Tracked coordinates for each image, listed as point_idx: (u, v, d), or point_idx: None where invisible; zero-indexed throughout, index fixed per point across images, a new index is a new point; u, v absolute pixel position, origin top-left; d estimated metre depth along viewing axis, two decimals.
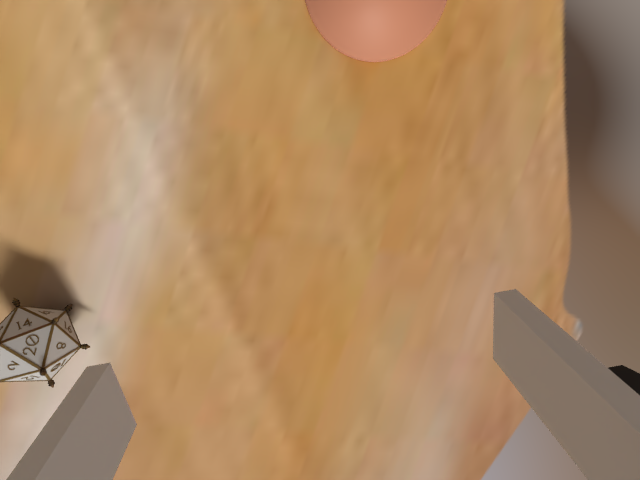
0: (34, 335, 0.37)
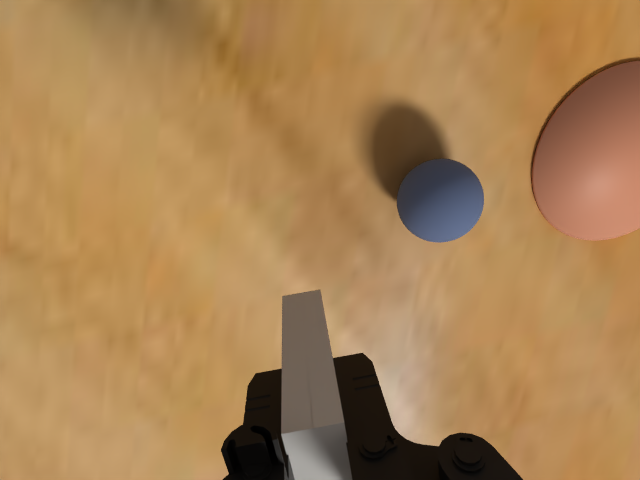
0: None
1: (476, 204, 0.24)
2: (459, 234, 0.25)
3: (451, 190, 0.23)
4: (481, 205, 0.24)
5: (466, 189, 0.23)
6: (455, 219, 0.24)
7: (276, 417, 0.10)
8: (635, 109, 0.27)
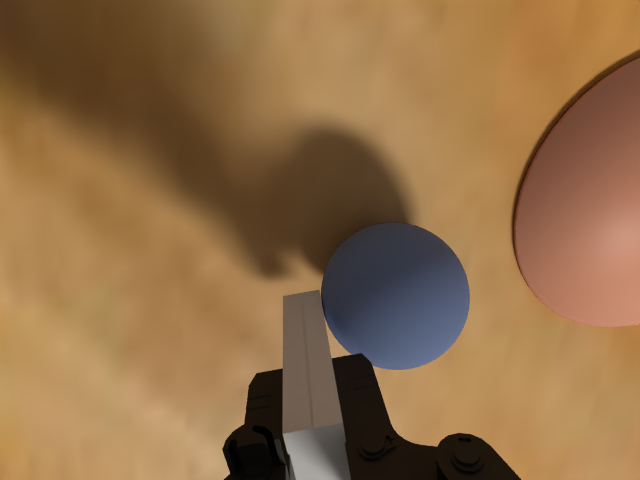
0: None
1: (467, 300, 0.13)
2: (444, 351, 0.14)
3: (434, 289, 0.12)
4: (469, 295, 0.14)
5: (453, 280, 0.13)
6: (445, 337, 0.13)
7: (277, 417, 0.10)
8: None
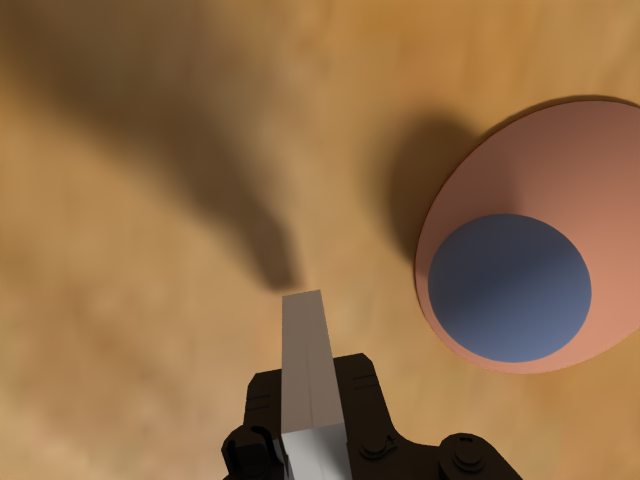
0: None
1: None
2: None
3: None
4: None
5: None
6: None
7: (275, 418, 0.10)
8: (581, 180, 0.16)
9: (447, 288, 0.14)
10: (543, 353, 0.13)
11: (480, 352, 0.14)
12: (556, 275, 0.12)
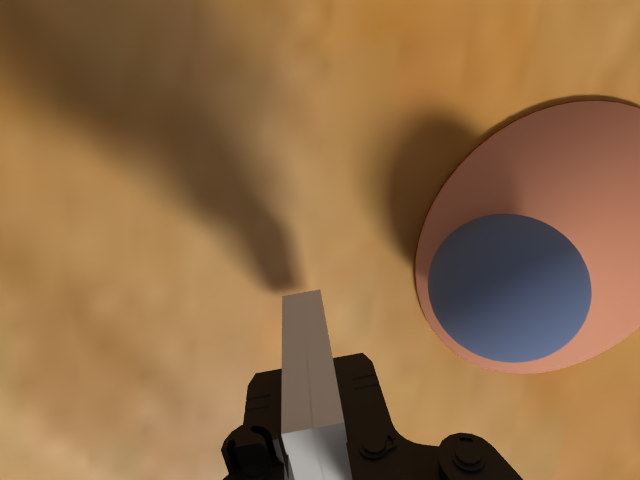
0: None
1: None
2: None
3: None
4: None
5: None
6: None
7: (275, 418, 0.10)
8: (581, 180, 0.16)
9: (447, 288, 0.14)
10: (543, 353, 0.13)
11: (480, 352, 0.14)
12: (556, 275, 0.12)
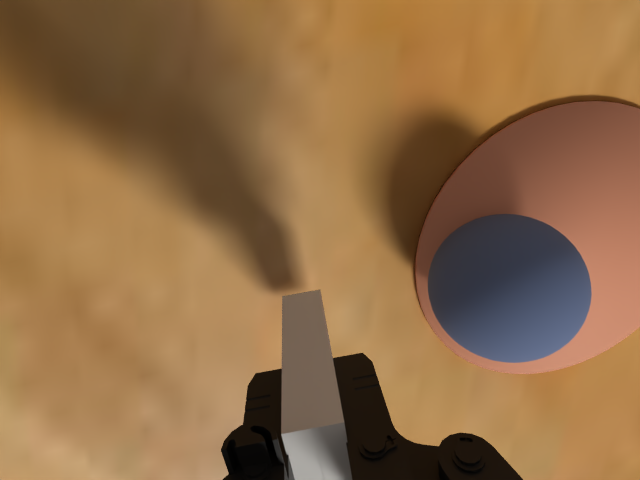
0: None
1: None
2: None
3: None
4: None
5: None
6: None
7: (275, 418, 0.10)
8: (581, 180, 0.16)
9: (447, 288, 0.14)
10: (543, 353, 0.13)
11: (480, 351, 0.14)
12: (556, 276, 0.12)
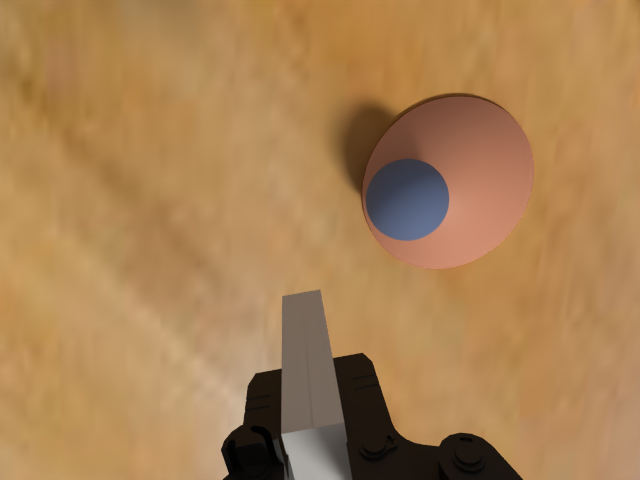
0: None
1: None
2: None
3: None
4: None
5: None
6: None
7: (276, 417, 0.10)
8: (457, 142, 0.28)
9: (372, 196, 0.25)
10: (420, 229, 0.25)
11: (389, 231, 0.25)
12: (423, 185, 0.24)
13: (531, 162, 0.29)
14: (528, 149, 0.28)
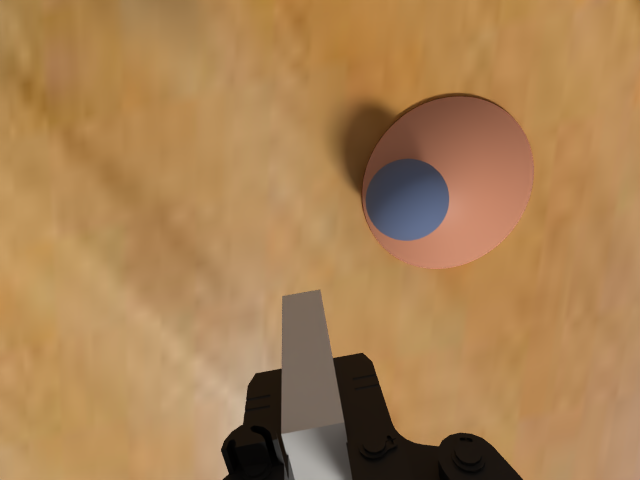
0: None
1: None
2: None
3: None
4: None
5: None
6: None
7: (276, 417, 0.10)
8: (457, 142, 0.28)
9: (372, 196, 0.25)
10: (420, 229, 0.25)
11: (389, 231, 0.25)
12: (423, 185, 0.24)
13: (531, 162, 0.29)
14: (528, 149, 0.28)
